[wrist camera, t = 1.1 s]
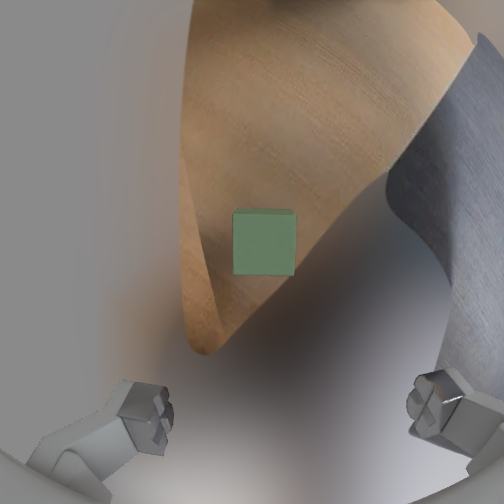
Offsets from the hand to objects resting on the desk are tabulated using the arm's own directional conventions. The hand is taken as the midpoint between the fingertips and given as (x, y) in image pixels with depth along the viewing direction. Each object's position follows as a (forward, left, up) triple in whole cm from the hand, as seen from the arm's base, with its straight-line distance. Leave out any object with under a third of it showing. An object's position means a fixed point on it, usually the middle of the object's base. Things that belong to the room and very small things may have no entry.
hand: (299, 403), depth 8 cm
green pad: (-2, +1, -14) cm, 14 cm away
